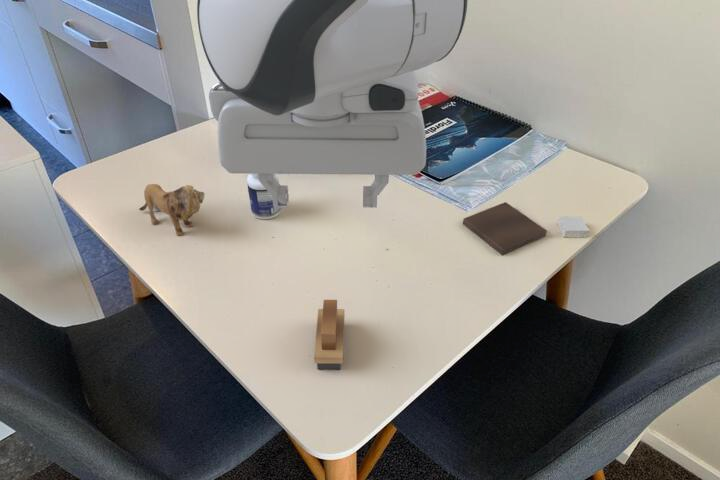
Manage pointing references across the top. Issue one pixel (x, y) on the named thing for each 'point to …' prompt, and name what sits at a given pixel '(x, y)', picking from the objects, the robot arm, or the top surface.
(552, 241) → the top surface
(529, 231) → the board
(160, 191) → the lion figurine
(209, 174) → the top surface
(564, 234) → the chalk block
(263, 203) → the pill bottle
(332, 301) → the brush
